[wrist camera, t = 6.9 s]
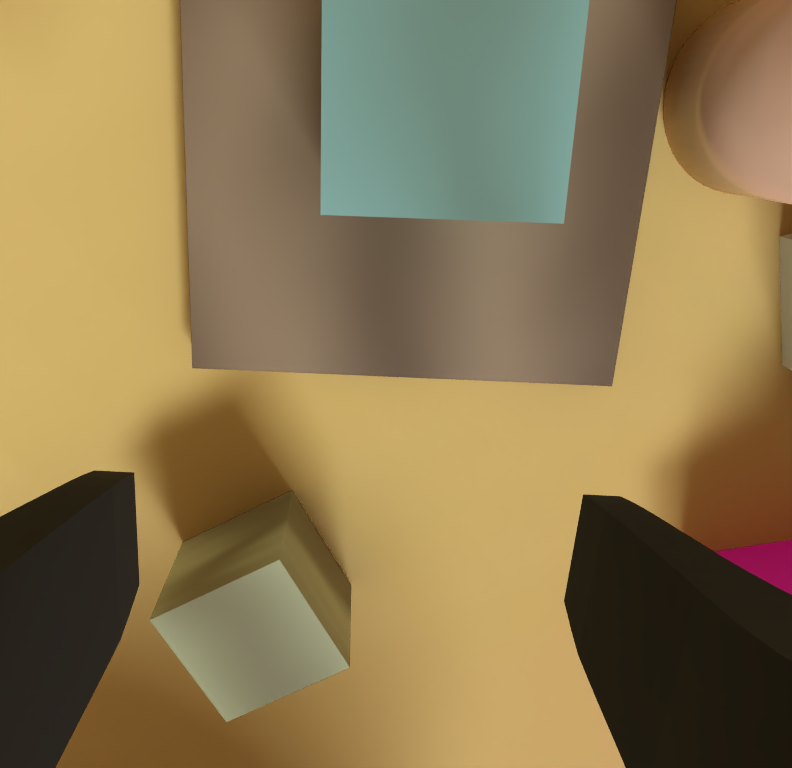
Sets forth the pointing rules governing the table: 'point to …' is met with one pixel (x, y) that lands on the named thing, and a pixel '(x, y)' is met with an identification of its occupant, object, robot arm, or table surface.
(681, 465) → the table surface
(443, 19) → the teal block
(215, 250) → the board
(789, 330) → the grey cube
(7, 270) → the table surface
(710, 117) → the peach rounded piece
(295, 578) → the olive block
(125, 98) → the table surface
